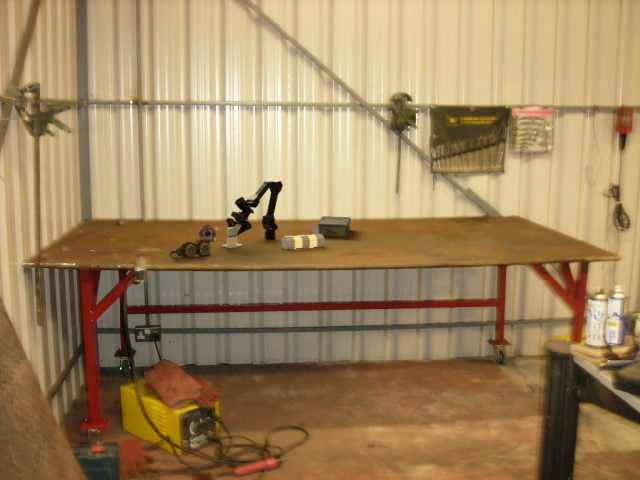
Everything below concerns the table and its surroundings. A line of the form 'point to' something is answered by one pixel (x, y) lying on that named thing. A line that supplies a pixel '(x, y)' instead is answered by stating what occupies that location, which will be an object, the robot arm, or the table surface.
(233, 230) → the pale green block
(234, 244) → the cream stepped block
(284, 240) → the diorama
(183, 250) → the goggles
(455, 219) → the table surface
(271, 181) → the robot arm
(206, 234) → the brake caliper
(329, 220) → the metal box
